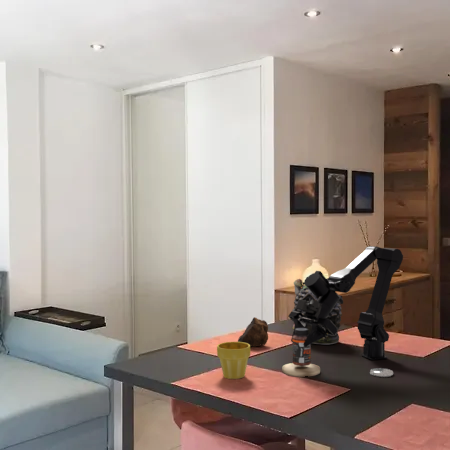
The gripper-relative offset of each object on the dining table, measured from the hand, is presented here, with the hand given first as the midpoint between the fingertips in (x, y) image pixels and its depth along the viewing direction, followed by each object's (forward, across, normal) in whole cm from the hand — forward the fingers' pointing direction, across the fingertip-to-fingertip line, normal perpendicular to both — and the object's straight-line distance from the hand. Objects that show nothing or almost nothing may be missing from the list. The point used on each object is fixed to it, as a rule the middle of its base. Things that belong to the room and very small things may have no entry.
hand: (298, 343), depth 184 cm
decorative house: (-17, -30, +30) cm, 46 cm away
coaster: (+6, 0, +7) cm, 9 cm away
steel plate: (-8, +16, +21) cm, 28 cm away
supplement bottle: (+4, 0, +6) cm, 7 cm away
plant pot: (+20, -7, -8) cm, 23 cm away
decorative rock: (+1, -38, +12) cm, 40 cm away
